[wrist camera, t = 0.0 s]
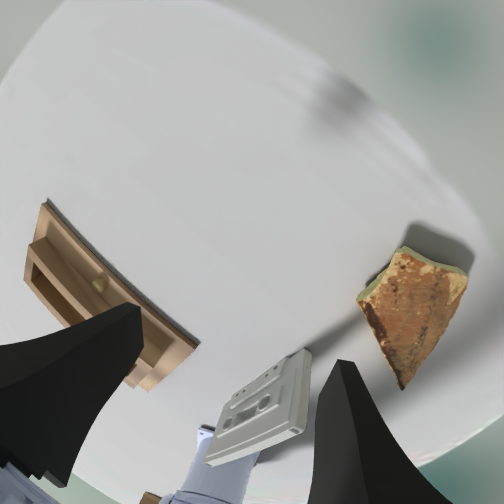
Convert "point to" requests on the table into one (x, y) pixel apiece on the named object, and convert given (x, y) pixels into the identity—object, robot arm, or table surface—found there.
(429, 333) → the shard
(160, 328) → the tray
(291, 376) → the cassette
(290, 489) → the table surface
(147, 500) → the deck stand
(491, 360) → the table surface
